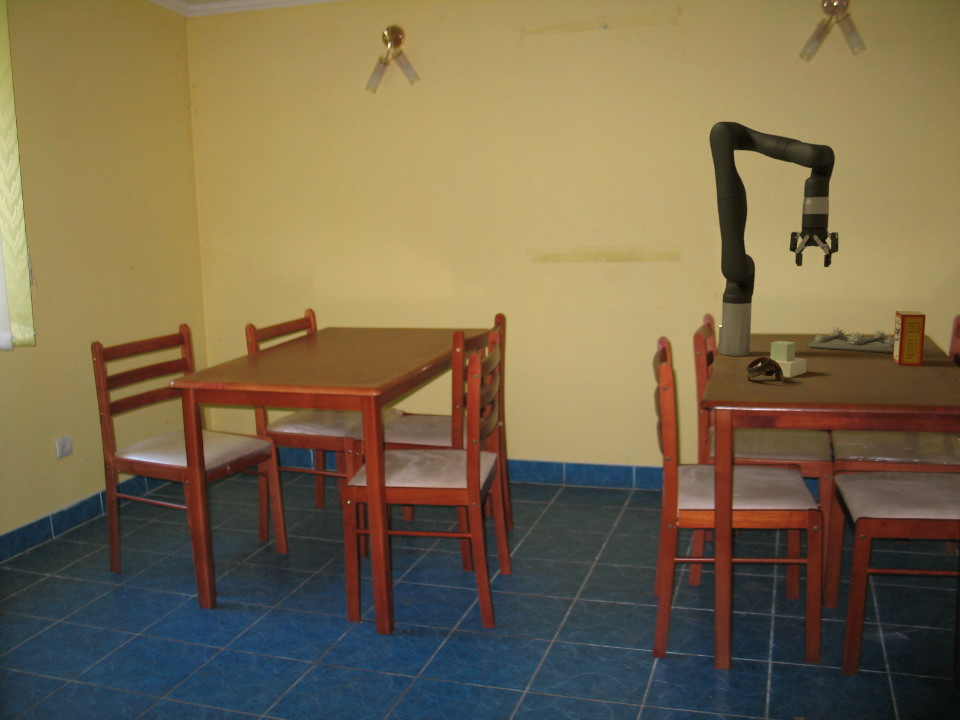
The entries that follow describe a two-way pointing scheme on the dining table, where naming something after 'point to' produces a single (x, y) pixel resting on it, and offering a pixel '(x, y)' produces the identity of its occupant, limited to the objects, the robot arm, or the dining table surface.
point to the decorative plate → (854, 342)
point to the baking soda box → (909, 338)
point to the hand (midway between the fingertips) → (812, 266)
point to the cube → (783, 351)
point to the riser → (792, 367)
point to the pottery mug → (765, 368)
